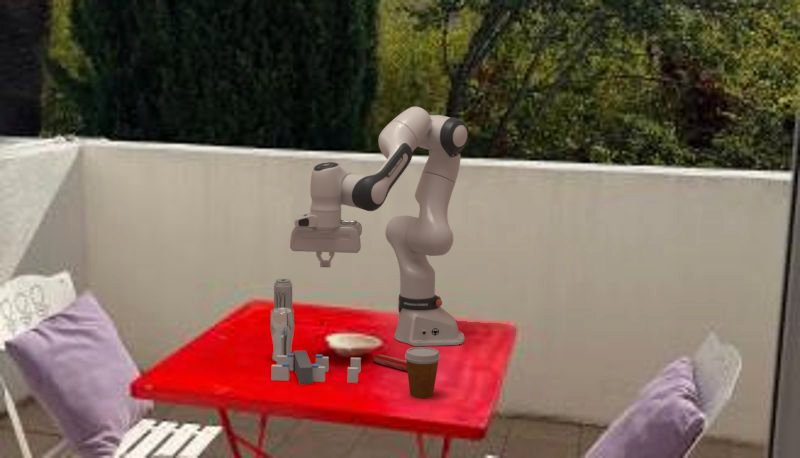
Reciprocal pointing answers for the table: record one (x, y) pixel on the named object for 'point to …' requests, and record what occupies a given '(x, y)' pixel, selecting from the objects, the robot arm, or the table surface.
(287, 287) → the energy drink can
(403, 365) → the candy bar
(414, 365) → the disposable coffee cup
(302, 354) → the tall grey pillar
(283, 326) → the beer glass
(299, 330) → the table surface
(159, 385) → the table surface
